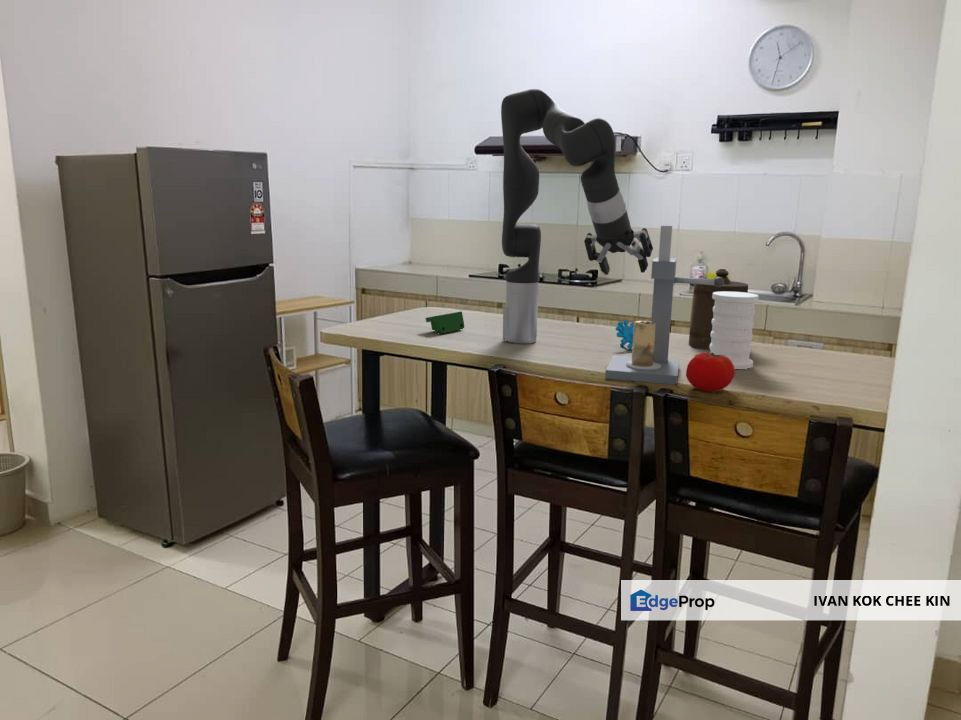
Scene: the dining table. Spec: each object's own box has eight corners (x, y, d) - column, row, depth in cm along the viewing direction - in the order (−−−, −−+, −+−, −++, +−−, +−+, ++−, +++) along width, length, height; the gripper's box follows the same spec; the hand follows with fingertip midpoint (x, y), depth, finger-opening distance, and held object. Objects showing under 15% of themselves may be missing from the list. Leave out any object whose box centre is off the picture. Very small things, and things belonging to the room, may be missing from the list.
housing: (630, 365, 171) (633, 322, 168) (632, 361, 175) (635, 319, 173) (652, 367, 169) (655, 324, 167) (653, 362, 174) (656, 320, 172)
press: (605, 378, 169) (613, 225, 161) (613, 362, 184) (622, 222, 177) (716, 388, 162) (731, 228, 154) (715, 371, 178) (728, 225, 170)
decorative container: (699, 359, 191) (705, 290, 187) (743, 359, 191) (750, 291, 187) (712, 369, 180) (719, 297, 176) (759, 370, 179) (767, 297, 176)
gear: (625, 347, 196) (613, 317, 201) (613, 359, 200) (601, 329, 205) (656, 349, 201) (644, 320, 206) (643, 361, 206) (632, 332, 211)
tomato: (678, 384, 165) (681, 348, 163) (723, 384, 165) (726, 348, 163) (693, 395, 155) (696, 357, 154) (740, 395, 156) (743, 357, 154)
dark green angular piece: (448, 343, 228) (451, 315, 230) (462, 341, 224) (465, 313, 226) (421, 333, 219) (425, 304, 221) (436, 330, 215) (439, 301, 217)
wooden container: (733, 341, 215) (740, 267, 210) (749, 352, 201) (757, 272, 196) (683, 340, 216) (689, 266, 211) (695, 350, 202) (701, 271, 197)
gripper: (571, 225, 156) (591, 283, 165) (636, 218, 148) (653, 280, 158) (581, 205, 160) (599, 263, 170) (644, 197, 153) (660, 259, 163)
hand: (625, 271), depth 164 cm, fingers open, 8 cm apart
